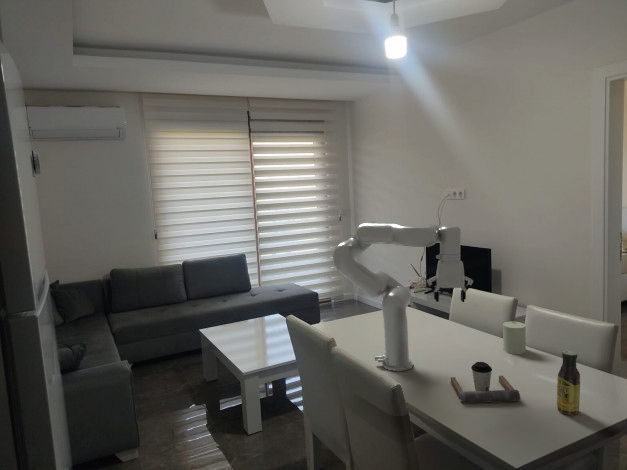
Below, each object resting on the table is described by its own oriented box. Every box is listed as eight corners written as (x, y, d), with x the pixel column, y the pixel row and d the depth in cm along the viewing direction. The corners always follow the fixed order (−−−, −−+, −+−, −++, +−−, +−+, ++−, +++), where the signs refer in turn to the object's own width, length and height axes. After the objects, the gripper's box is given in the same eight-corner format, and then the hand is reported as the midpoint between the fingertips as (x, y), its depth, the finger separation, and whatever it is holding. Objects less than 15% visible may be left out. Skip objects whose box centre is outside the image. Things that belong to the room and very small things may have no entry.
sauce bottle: (552, 407, 143) (552, 348, 141) (570, 405, 144) (570, 347, 141) (565, 418, 137) (565, 356, 134) (584, 415, 137) (585, 354, 135)
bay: (462, 404, 148) (462, 394, 148) (450, 383, 164) (450, 374, 164) (520, 403, 147) (520, 392, 147) (503, 382, 163) (502, 372, 162)
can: (524, 347, 194) (524, 320, 193) (527, 355, 186) (527, 327, 184) (502, 345, 197) (501, 319, 196) (503, 353, 189) (503, 326, 187)
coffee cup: (494, 396, 152) (493, 369, 151) (473, 395, 154) (472, 368, 153) (490, 387, 159) (490, 360, 158) (470, 386, 161) (469, 360, 160)
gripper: (428, 260, 166) (428, 303, 168) (475, 259, 164) (475, 303, 167) (425, 256, 174) (425, 298, 176) (470, 255, 172) (470, 298, 174)
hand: (449, 301), depth 171 cm, fingers open, 9 cm apart
